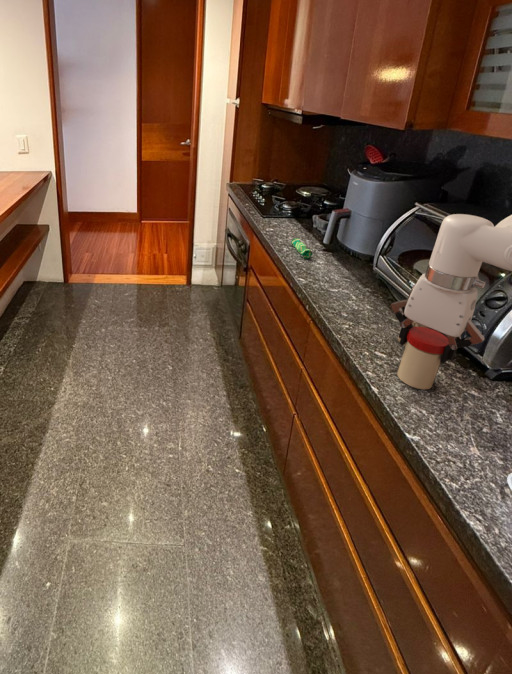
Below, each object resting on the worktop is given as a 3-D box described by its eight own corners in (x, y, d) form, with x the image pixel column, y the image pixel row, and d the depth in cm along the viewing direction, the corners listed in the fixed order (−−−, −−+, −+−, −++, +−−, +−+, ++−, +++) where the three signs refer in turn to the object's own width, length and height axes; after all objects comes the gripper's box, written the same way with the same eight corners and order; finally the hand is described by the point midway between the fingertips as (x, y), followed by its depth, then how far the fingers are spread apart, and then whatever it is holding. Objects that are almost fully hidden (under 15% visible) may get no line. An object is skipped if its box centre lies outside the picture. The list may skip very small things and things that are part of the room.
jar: (428, 373, 87) (441, 334, 83) (435, 393, 81) (451, 351, 77) (394, 366, 89) (406, 327, 85) (400, 384, 84) (413, 344, 80)
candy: (314, 256, 143) (309, 247, 142) (305, 260, 144) (300, 252, 142) (301, 243, 154) (297, 235, 153) (293, 248, 155) (289, 240, 153)
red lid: (409, 348, 80) (411, 341, 80) (404, 330, 86) (406, 323, 85) (451, 358, 77) (453, 350, 77) (442, 338, 83) (445, 331, 82)
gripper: (513, 289, 71) (480, 366, 78) (407, 257, 84) (387, 325, 91) (501, 302, 67) (467, 382, 74) (392, 266, 80) (372, 337, 87)
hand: (423, 350), depth 82 cm, fingers closed on red lid, 6 cm apart
